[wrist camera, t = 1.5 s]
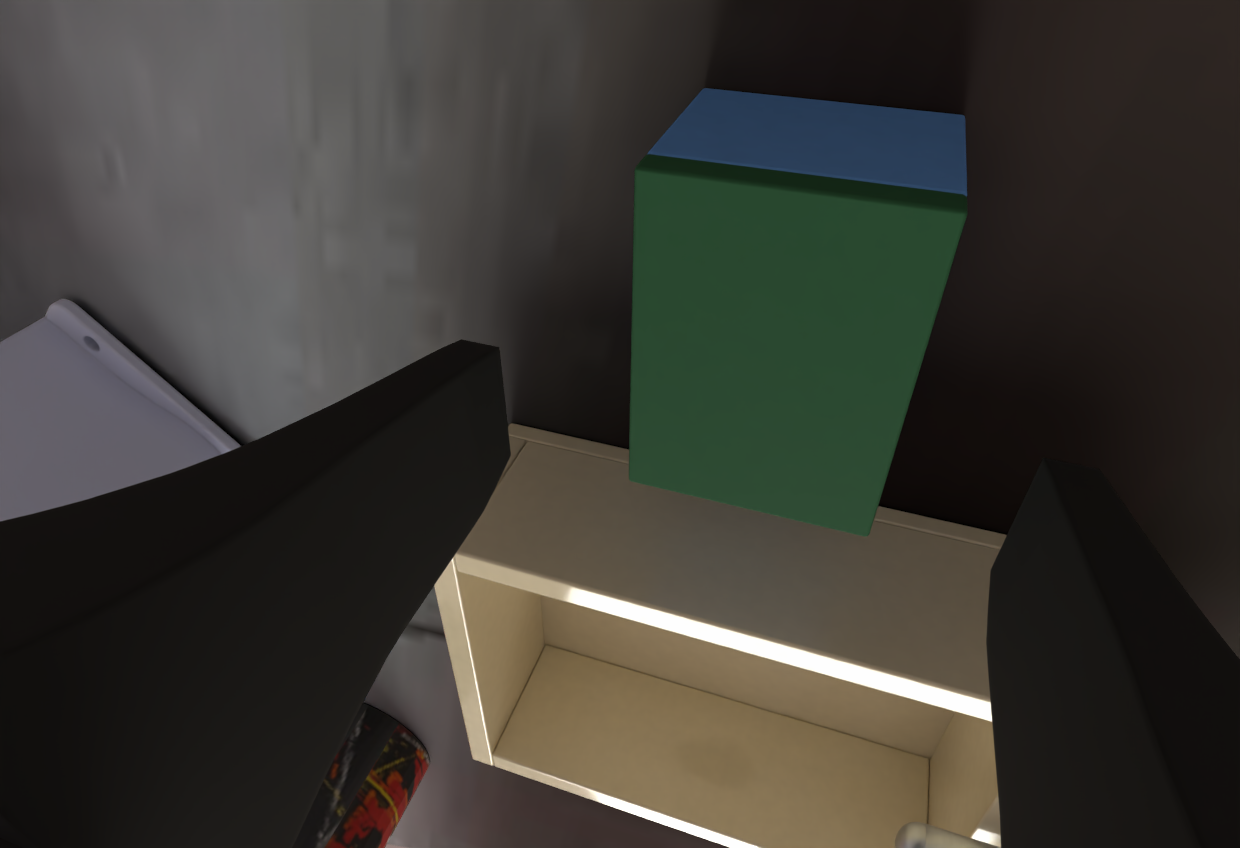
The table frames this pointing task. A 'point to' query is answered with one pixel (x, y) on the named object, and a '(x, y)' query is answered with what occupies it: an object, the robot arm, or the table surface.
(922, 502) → the table surface
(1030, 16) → the table surface
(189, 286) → the table surface
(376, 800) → the deodorant
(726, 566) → the basin
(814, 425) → the sponge
